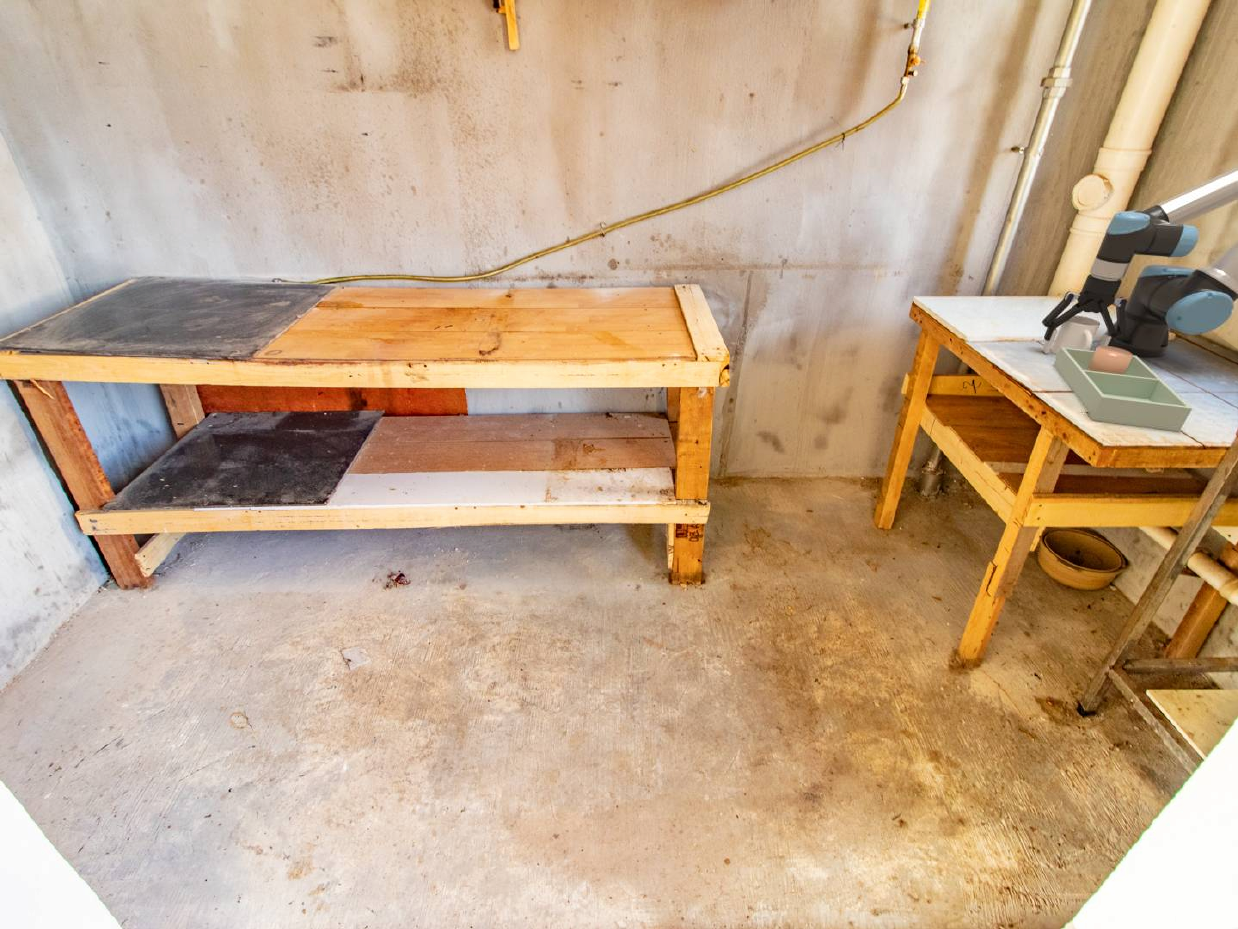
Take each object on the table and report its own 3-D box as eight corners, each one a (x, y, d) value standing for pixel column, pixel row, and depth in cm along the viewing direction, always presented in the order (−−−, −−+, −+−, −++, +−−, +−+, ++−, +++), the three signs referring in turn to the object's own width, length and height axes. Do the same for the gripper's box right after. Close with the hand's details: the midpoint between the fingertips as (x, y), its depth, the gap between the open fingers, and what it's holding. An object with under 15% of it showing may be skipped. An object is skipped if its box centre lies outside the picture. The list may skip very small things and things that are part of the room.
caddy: (1126, 376, 169) (1136, 355, 166) (1179, 431, 144) (1192, 408, 141) (1052, 367, 173) (1060, 347, 170) (1091, 419, 148) (1102, 397, 145)
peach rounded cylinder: (1111, 377, 167) (1125, 348, 162) (1123, 389, 160) (1138, 359, 156) (1079, 373, 168) (1092, 344, 164) (1089, 385, 162) (1102, 355, 158)
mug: (1096, 368, 173) (1113, 331, 168) (1063, 366, 174) (1079, 329, 169) (1075, 351, 183) (1091, 316, 178) (1045, 349, 184) (1059, 313, 179)
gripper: (1153, 277, 167) (1115, 355, 179) (1049, 267, 172) (1019, 344, 184) (1165, 285, 161) (1126, 366, 173) (1057, 275, 166) (1026, 353, 177)
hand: (1071, 354), depth 178 cm, fingers open, 12 cm apart
